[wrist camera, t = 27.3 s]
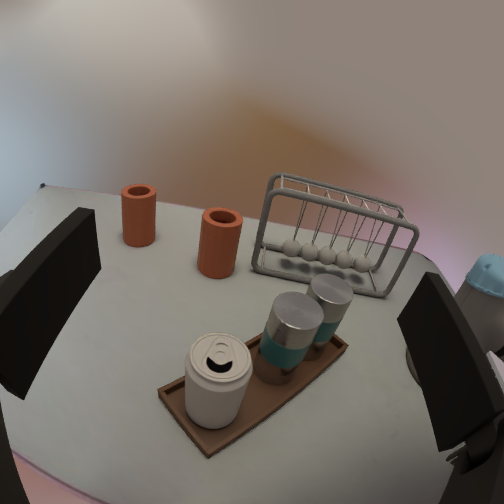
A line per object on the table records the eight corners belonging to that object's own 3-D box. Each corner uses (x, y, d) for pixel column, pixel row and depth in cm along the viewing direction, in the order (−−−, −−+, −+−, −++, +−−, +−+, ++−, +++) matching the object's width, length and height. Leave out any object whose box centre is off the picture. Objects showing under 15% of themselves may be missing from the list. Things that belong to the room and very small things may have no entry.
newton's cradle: (376, 271, 65) (405, 206, 56) (386, 300, 57) (424, 228, 47) (254, 244, 65) (271, 169, 56) (248, 272, 56) (268, 186, 47)
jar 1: (160, 242, 59) (161, 194, 53) (130, 250, 55) (128, 200, 49) (147, 227, 63) (147, 182, 57) (119, 234, 59) (117, 187, 53)
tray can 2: (330, 347, 43) (361, 292, 37) (307, 367, 39) (338, 311, 33) (303, 325, 47) (327, 268, 40) (278, 341, 43) (301, 282, 36)
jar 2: (240, 271, 56) (251, 221, 50) (211, 283, 52) (218, 230, 46) (219, 252, 60) (226, 204, 54) (190, 262, 56) (194, 211, 50)
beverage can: (181, 425, 29) (179, 377, 22) (189, 382, 34) (192, 323, 28) (234, 434, 29) (254, 390, 23) (238, 390, 34) (256, 334, 28)
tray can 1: (303, 370, 39) (334, 314, 32) (273, 393, 35) (301, 338, 28) (274, 344, 42) (296, 285, 36) (243, 363, 38) (261, 303, 32)
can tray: (344, 352, 43) (348, 345, 42) (207, 458, 26) (208, 454, 25) (299, 315, 49) (302, 307, 48) (158, 395, 32) (157, 389, 31)
